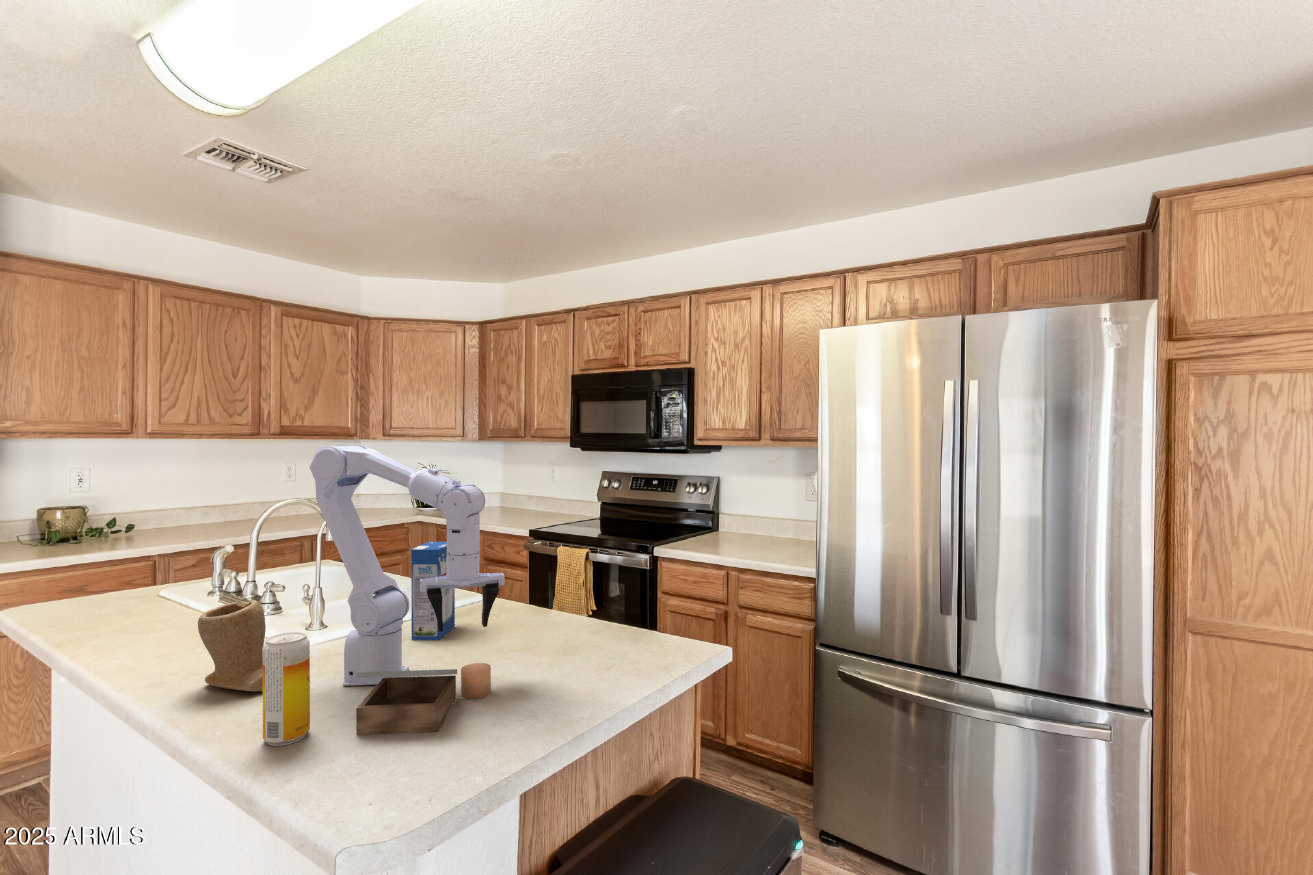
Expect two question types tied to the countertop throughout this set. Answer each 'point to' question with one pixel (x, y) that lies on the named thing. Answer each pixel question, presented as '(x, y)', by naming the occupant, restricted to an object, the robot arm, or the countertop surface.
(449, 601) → the milk carton
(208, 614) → the stone cup
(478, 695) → the tan rounded cylinder
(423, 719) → the box
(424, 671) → the lid
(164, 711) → the countertop surface
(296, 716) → the beer can
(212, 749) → the countertop surface
